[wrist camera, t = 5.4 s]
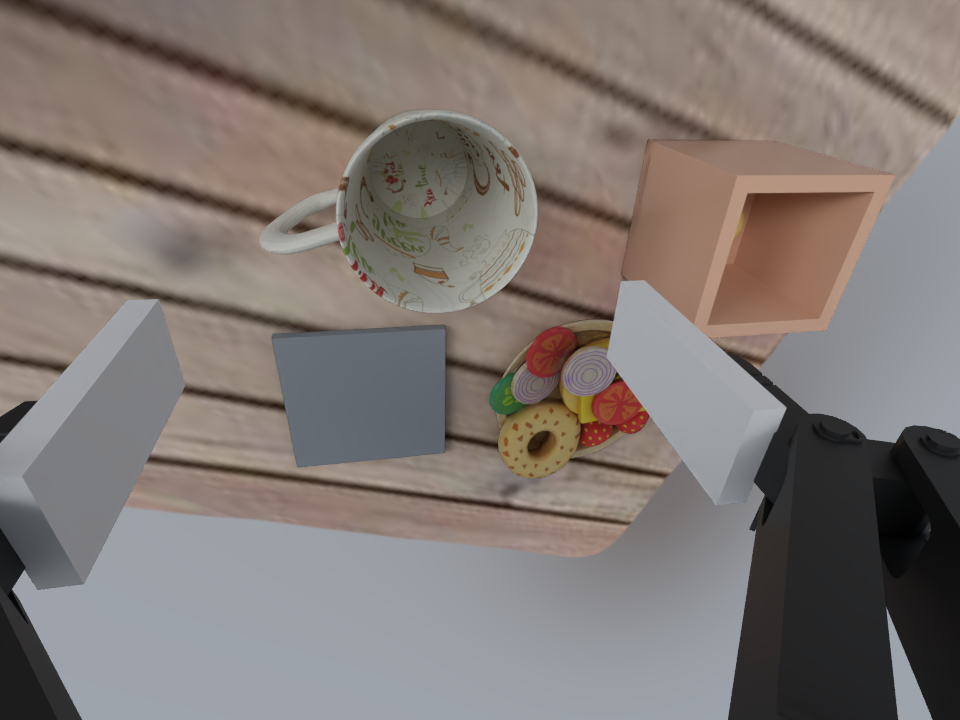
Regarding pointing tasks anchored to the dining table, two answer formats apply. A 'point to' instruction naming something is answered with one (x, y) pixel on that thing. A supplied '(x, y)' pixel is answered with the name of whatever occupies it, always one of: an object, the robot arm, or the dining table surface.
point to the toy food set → (562, 400)
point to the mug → (425, 212)
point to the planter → (750, 232)
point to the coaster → (363, 393)
